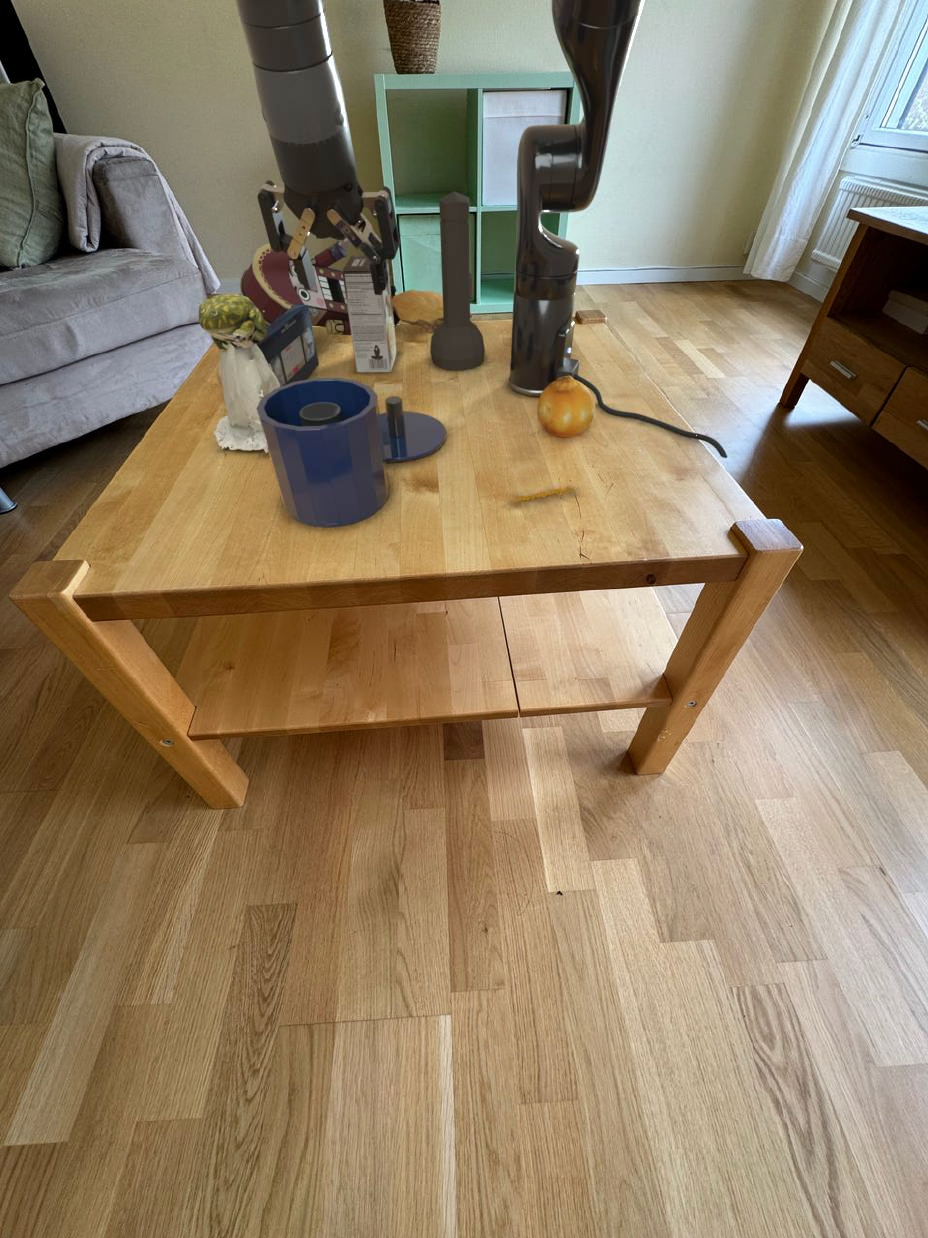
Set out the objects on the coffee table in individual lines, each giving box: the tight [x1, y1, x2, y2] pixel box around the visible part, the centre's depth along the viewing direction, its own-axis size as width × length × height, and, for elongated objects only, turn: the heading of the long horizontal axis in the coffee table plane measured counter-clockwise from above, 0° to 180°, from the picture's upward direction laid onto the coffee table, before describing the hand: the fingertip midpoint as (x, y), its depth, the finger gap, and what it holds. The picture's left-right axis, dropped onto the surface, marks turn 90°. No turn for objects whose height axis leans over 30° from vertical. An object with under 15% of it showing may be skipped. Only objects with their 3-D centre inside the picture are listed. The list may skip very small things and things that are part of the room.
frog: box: [197, 293, 280, 454], centre depth 78 cm, size 12×13×18 cm
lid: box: [379, 395, 447, 463], centre depth 81 cm, size 14×14×6 cm
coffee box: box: [341, 254, 398, 373], centre depth 98 cm, size 9×6×16 cm
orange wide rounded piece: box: [392, 289, 474, 334], centre depth 113 cm, size 17×4×10 cm
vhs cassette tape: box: [257, 304, 320, 387], centre depth 93 cm, size 18×3×10 cm, turn 167°
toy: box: [239, 238, 401, 336], centre depth 102 cm, size 14×13×30 cm
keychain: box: [514, 486, 573, 503], centre depth 72 cm, size 8×1×1 cm, turn 109°
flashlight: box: [429, 190, 486, 371], centre depth 95 cm, size 10×25×10 cm
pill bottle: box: [300, 402, 343, 426], centre depth 68 cm, size 6×6×11 cm
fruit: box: [536, 376, 596, 438], centre depth 82 cm, size 8×8×8 cm
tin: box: [257, 377, 389, 528], centre depth 68 cm, size 13×13×12 cm
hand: (345, 288), depth 67 cm, fingers open, 8 cm apart
